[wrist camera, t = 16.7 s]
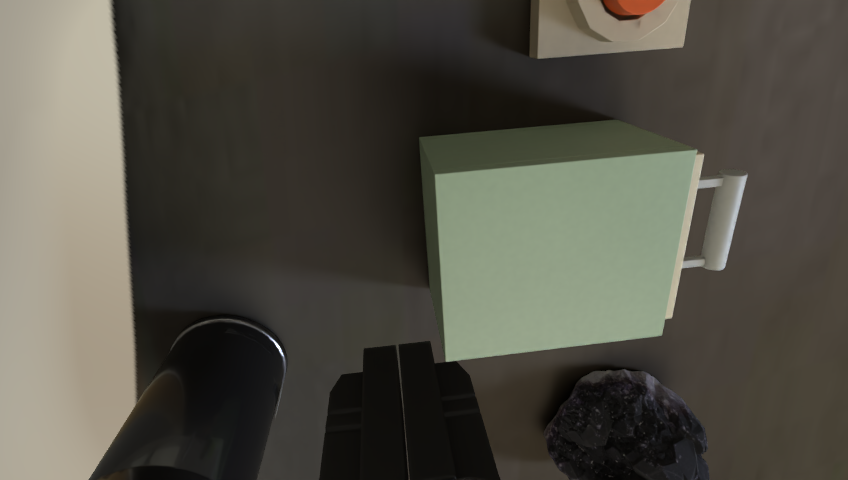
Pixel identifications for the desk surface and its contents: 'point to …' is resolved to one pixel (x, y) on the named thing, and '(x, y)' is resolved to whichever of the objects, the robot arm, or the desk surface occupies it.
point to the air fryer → (551, 234)
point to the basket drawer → (710, 222)
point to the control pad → (603, 28)
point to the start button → (632, 6)
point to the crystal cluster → (626, 431)
